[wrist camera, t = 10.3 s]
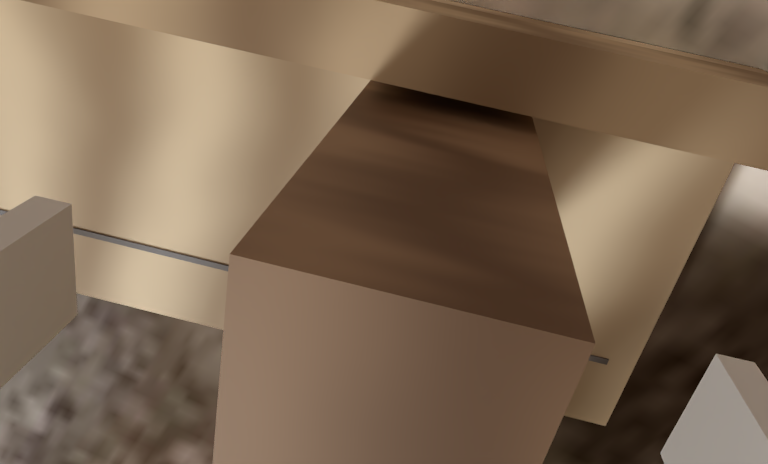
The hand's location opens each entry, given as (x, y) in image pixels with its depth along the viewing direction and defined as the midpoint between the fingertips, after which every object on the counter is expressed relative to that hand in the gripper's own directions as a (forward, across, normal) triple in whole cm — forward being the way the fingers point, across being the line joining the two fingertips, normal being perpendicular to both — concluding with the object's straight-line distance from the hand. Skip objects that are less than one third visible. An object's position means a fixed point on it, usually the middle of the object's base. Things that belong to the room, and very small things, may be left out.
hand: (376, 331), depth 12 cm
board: (+10, -5, -1) cm, 12 cm away
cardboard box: (+9, +1, -4) cm, 10 cm away
